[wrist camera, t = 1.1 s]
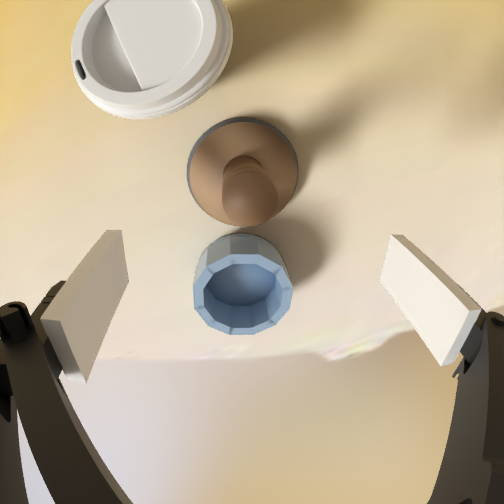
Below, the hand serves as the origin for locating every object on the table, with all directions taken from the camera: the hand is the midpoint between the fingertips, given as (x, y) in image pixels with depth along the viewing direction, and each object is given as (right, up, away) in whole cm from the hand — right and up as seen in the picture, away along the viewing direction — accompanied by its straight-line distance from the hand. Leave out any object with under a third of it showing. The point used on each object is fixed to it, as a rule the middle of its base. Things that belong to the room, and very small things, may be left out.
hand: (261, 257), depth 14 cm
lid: (-1, +8, +16) cm, 18 cm away
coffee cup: (-7, +18, +11) cm, 22 cm away
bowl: (-2, -2, +21) cm, 21 cm away
